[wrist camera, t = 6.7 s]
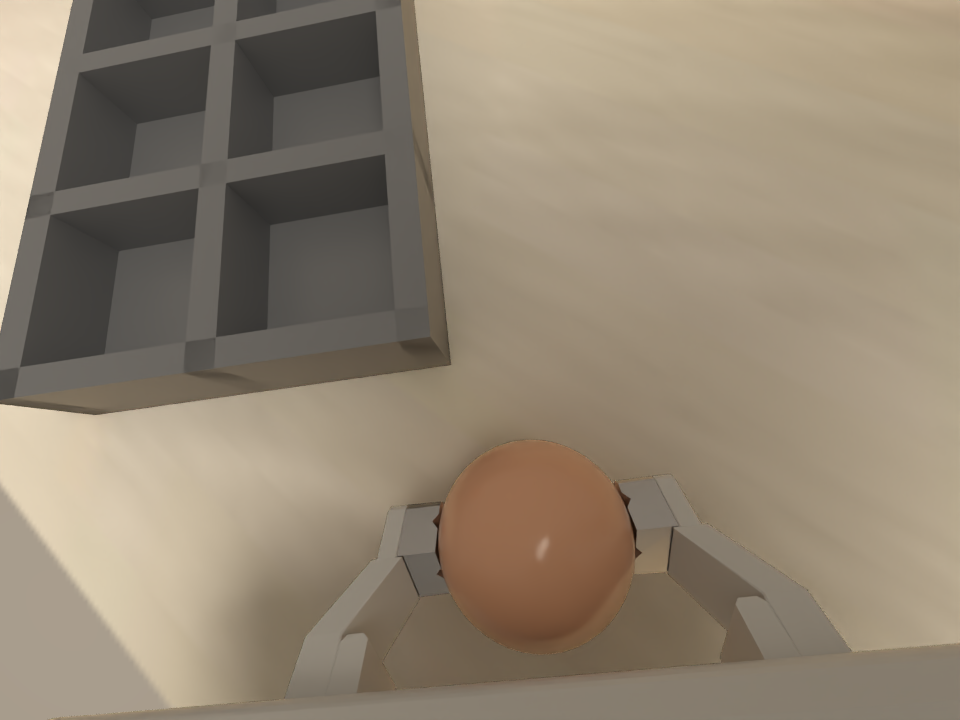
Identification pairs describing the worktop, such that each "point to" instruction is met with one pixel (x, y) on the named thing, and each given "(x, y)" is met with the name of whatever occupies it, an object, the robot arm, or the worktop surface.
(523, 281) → the worktop surface
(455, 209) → the worktop surface
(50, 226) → the egg carton
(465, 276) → the worktop surface
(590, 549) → the terracotta egg
